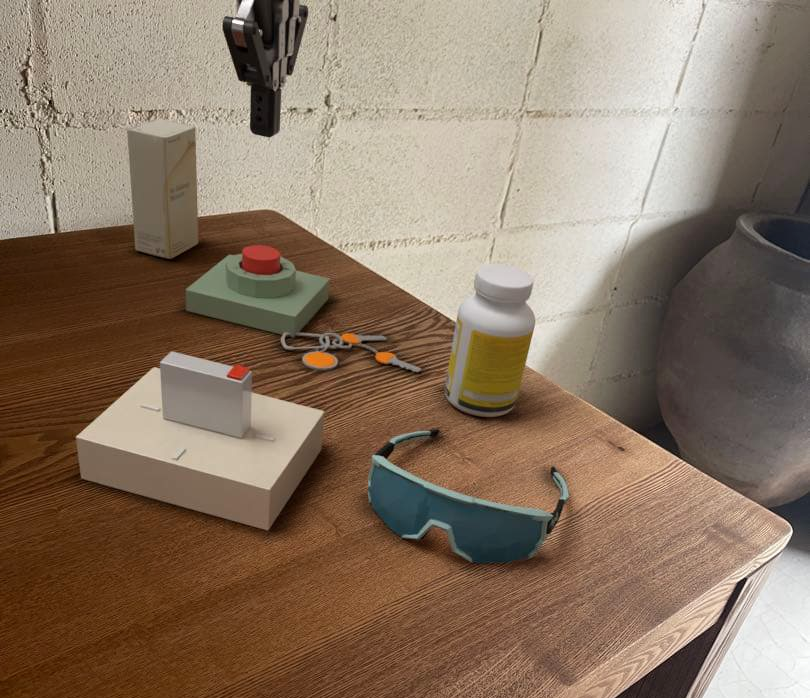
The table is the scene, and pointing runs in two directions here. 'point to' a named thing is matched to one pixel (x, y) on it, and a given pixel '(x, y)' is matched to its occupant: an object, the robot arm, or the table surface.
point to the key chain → (329, 361)
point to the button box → (258, 296)
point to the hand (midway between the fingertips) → (264, 133)
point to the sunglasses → (457, 512)
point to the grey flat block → (206, 394)
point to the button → (261, 260)
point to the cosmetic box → (163, 187)
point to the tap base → (202, 455)
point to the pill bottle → (491, 342)
